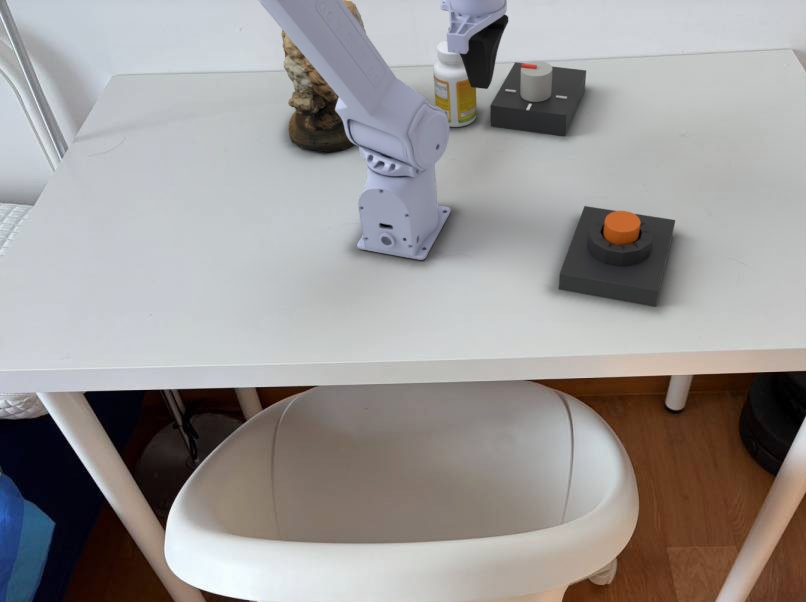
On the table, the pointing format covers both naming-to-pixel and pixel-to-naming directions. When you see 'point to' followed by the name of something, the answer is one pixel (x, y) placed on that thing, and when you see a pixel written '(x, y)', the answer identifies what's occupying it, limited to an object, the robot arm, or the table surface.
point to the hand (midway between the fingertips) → (480, 85)
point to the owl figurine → (314, 101)
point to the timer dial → (536, 81)
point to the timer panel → (539, 103)
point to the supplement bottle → (453, 88)
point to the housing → (617, 259)
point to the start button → (621, 227)
